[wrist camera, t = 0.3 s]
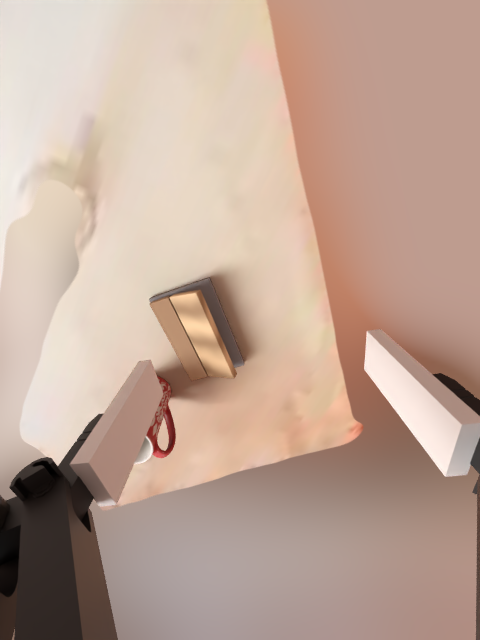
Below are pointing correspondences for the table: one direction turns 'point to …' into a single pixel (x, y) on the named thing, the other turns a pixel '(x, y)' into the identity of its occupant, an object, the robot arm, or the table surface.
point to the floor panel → (179, 335)
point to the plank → (203, 333)
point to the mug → (150, 440)
